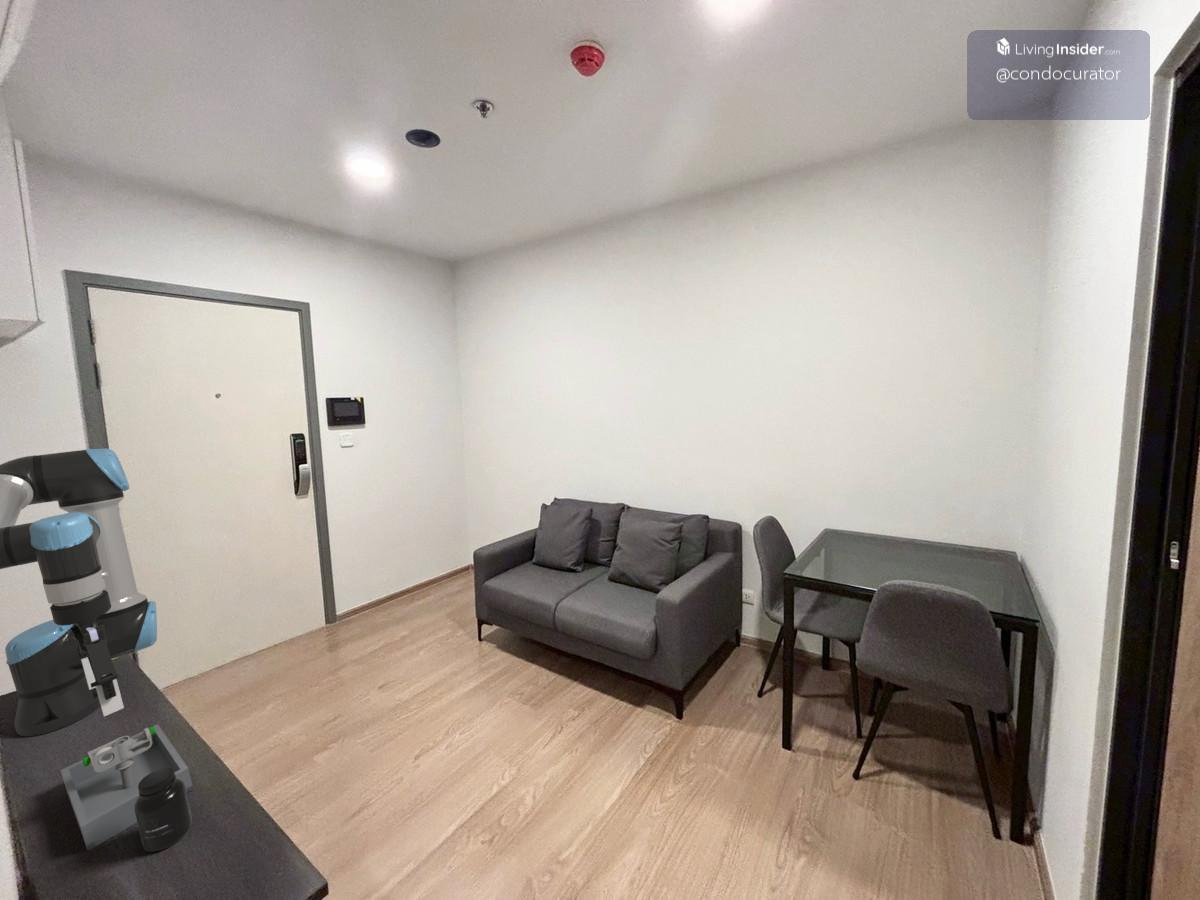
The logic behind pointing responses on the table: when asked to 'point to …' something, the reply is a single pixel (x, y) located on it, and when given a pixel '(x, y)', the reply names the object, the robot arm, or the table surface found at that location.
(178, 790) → the supplement bottle
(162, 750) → the bin
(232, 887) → the table surface
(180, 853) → the table surface
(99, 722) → the table surface
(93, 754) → the mechanical component
